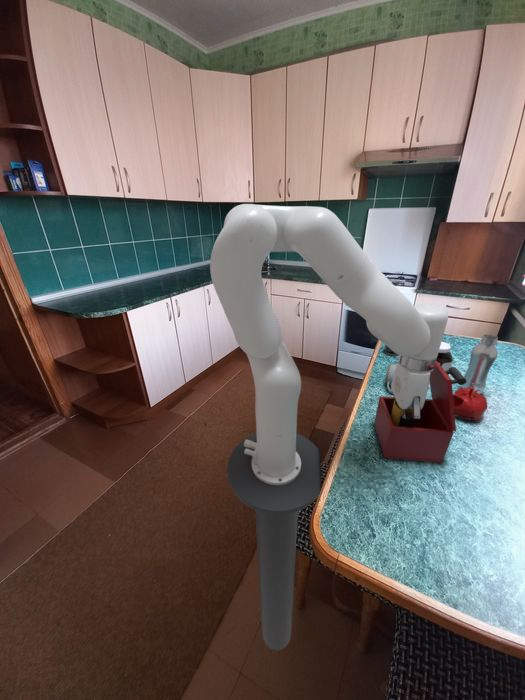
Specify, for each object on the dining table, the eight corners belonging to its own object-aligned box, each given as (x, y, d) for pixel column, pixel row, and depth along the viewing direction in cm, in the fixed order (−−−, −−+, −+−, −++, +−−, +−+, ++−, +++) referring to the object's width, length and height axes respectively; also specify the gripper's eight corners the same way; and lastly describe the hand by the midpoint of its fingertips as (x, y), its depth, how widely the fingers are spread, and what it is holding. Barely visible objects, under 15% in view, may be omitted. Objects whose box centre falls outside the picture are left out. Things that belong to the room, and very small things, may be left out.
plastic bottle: (486, 398, 93) (509, 342, 83) (463, 396, 94) (483, 341, 84) (476, 386, 98) (497, 333, 89) (454, 385, 99) (473, 332, 90)
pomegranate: (480, 407, 89) (491, 382, 84) (485, 428, 81) (496, 401, 77) (443, 398, 93) (451, 374, 89) (444, 417, 85) (453, 391, 81)
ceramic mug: (386, 376, 105) (390, 358, 101) (411, 382, 101) (416, 363, 97) (381, 392, 97) (385, 373, 93) (408, 399, 93) (413, 379, 89)
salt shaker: (399, 356, 118) (405, 329, 112) (383, 355, 119) (388, 328, 114) (397, 350, 123) (403, 324, 117) (382, 348, 124) (387, 322, 119)
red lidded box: (384, 457, 72) (391, 428, 68) (374, 423, 84) (379, 396, 79) (442, 463, 71) (453, 432, 66) (424, 427, 82) (432, 399, 77)
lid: (447, 380, 60) (474, 375, 59) (425, 352, 71) (448, 347, 70) (452, 431, 66) (477, 428, 65) (431, 398, 77) (452, 394, 76)
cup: (389, 426, 73) (393, 408, 71) (390, 412, 78) (394, 395, 75) (413, 431, 71) (418, 413, 69) (412, 417, 76) (417, 400, 73)
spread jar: (418, 376, 104) (425, 348, 99) (413, 361, 114) (420, 334, 109) (455, 381, 101) (465, 352, 96) (447, 365, 111) (456, 338, 106)
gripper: (389, 342, 74) (378, 399, 82) (410, 379, 59) (394, 444, 67) (421, 343, 73) (406, 401, 81) (450, 381, 58) (428, 447, 66)
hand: (401, 420), depth 74 cm, fingers closed on cup, 5 cm apart
